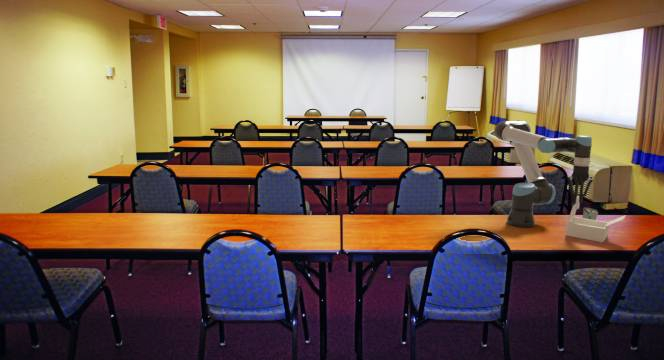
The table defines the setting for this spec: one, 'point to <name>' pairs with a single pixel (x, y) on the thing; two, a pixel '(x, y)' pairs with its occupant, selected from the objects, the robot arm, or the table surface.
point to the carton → (587, 229)
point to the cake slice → (590, 213)
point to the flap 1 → (572, 212)
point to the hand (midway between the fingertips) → (577, 208)
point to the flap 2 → (615, 221)
